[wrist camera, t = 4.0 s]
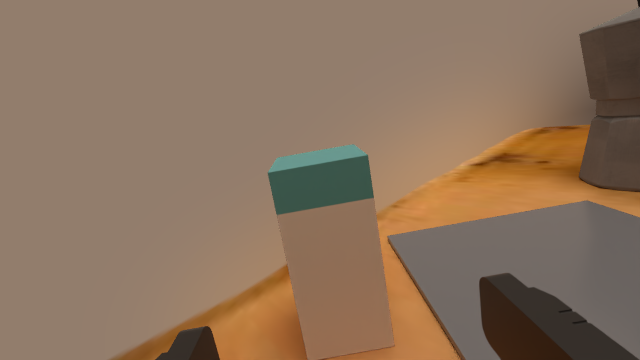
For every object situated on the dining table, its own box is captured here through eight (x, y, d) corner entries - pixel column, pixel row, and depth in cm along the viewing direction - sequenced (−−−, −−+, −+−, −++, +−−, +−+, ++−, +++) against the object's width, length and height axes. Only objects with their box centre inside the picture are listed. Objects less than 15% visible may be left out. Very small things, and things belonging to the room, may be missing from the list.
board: (587, 204, 28) (587, 200, 28) (934, 322, 13) (937, 313, 12) (387, 240, 28) (387, 235, 28) (488, 402, 13) (487, 393, 12)
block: (375, 295, 21) (353, 144, 18) (394, 346, 16) (367, 154, 14) (307, 308, 21) (277, 157, 18) (308, 361, 16) (267, 172, 14)
